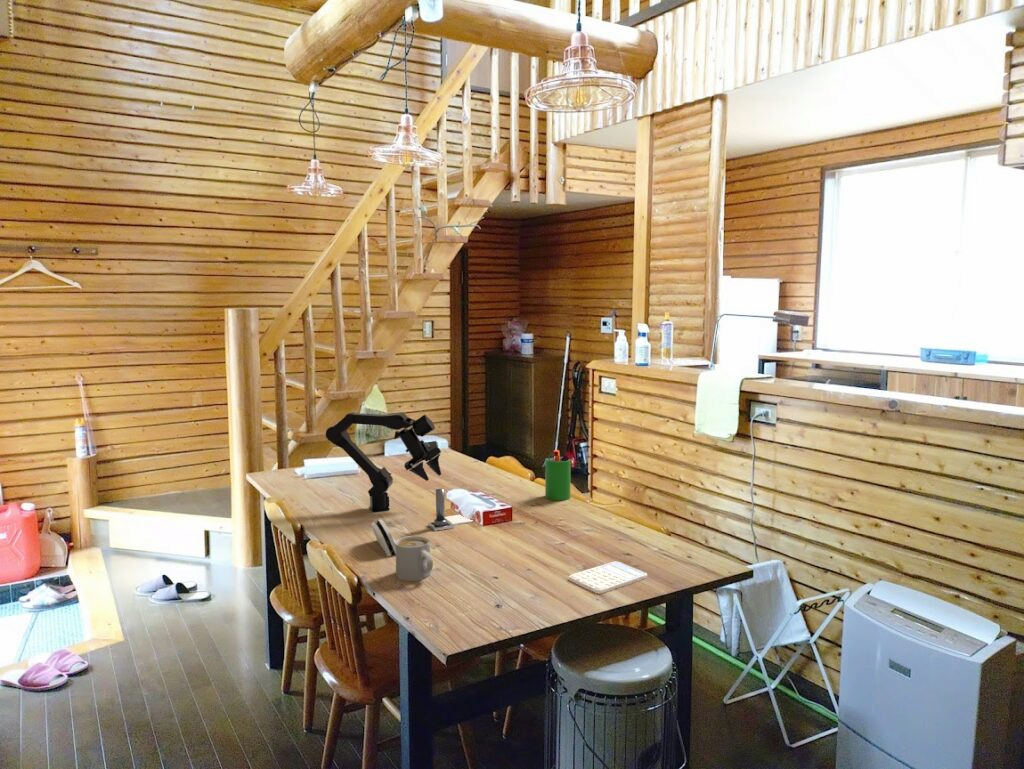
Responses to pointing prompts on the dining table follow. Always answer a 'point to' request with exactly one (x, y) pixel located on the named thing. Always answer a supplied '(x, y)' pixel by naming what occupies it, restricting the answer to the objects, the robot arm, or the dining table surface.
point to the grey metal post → (440, 509)
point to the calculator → (607, 577)
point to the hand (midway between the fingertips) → (433, 477)
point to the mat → (457, 519)
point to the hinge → (384, 537)
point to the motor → (557, 478)
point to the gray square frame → (431, 525)
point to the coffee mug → (413, 558)
